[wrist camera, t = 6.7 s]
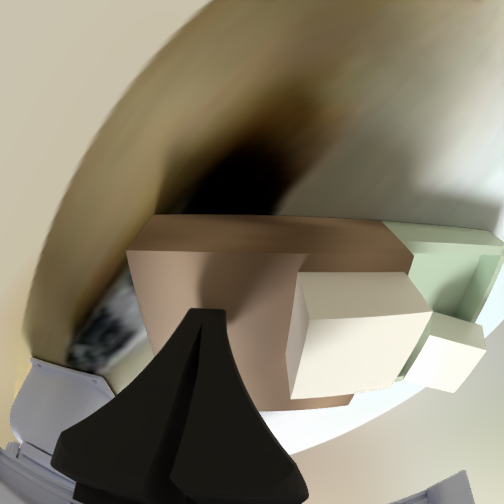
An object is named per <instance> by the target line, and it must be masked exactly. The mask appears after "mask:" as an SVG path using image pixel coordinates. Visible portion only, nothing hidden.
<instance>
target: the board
mask: <svg viewBox="0 0 504 504" xmlns="http://www.w3.org/2000/svg"><path fill="white" fill-rule="evenodd" d="M126 254H127V259H128V263H129V268H130V272H131V276H132V281H133V285H134V289H135V293H136V296H137V300H138V304H139V307H140V311H141V315H142V318H143V321H144V325H145V328H146V331H147V335H148V338H149V341H150V344H151V347H152V350H153V353H154V356H156V355H157V354H158V352H159V351H160V350H161V349H162V347H163V346H164V345H165V343H166V342H167V341H168V339H169V338H170V337H171V335H172V334H173V333H174V331H175V330H176V328H177V327H178V325H179V324H180V322H181V321H182V319H183V318H184V316H185V315H186V313H187V311H188V310H189V309H190V308H207V309H224V310H225V311H226V318H227V334H228V339H229V343H230V346H231V350H232V353H233V357H234V360H235V363H236V365H237V368H238V371H239V373H240V376H241V378H242V380H243V383H244V385H245V387H246V389H247V391H248V393H249V395H250V397H251V399H252V401H253V403H254V405H255V407H256V408H257V410H258V411H289V410H306V409H318V408H328V407H337V406H345V405H348V404H349V403H350V401H351V399H352V398H353V396H354V394H347V395H339V396H329V397H318V398H305V399H290V390H289V381H288V372H287V363H286V355H285V353H286V347H287V341H288V335H289V329H290V323H291V316H292V309H293V303H294V296H295V289H296V281H297V274H298V272H405V273H406V275H407V276H408V274H409V271H410V268H411V265H412V262H413V259H414V255H413V254H412V253H411V251H410V250H409V249H408V248H407V247H406V246H405V245H404V244H403V243H402V242H401V241H400V240H399V239H398V238H397V237H396V235H395V234H394V233H393V232H392V231H391V230H390V229H389V228H388V227H387V226H386V225H385V224H384V223H383V222H382V221H378V220H362V219H345V218H325V217H302V216H272V215H214V214H175V215H153V216H152V218H151V219H150V220H149V221H148V223H147V224H146V225H145V226H144V228H143V229H142V230H141V231H140V233H139V234H138V235H137V236H136V238H135V239H134V240H133V242H132V243H131V244H130V245H129V247H128V248H127V249H126Z"/></svg>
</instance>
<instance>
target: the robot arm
mask: <svg viewBox="0 0 504 504" xmlns="http://www.w3.org/2000/svg"><path fill="white" fill-rule="evenodd" d="M30 363H31V364H32V368H31V370H30V372H29V374H28V376H27V377H26V379H25V381H24V383H23V385H22V387H21V389H20V391H19V393H18V395H17V397H16V399H15V401H14V403H13V405H12V408H11V412H10V425H11V429H12V431H13V433H14V435H15V436H16V438H17V439H18V440H19V441H20V442H21V443H22V445H21V447H20V448H19V446H20V444H19V443H17V442H16V441H14V442H10V443H8V444H7V447H6V449H5V450H3V449H1V448H0V504H301V503H303V502H304V501H305V500H306V499H308V497H309V493H308V489H307V486H306V483H305V481H304V479H303V477H302V475H301V473H300V471H299V469H298V467H297V465H296V463H295V462H294V461H293V460H292V458H291V457H290V456H289V455H288V453H287V452H286V451H285V450H284V448H283V447H282V446H281V445H280V443H279V442H278V441H277V439H276V438H275V436H274V435H273V434H272V432H271V431H270V429H269V428H268V426H267V425H266V423H265V421H264V420H263V418H262V417H261V415H260V413H259V412H258V410H257V408H256V407H255V405H254V403H253V401H252V399H251V397H250V395H249V393H248V391H247V389H246V387H245V385H244V383H243V380H242V378H241V376H240V373H239V371H238V368H237V365H236V363H235V360H234V357H233V353H232V350H231V346H230V343H229V339H228V334H227V318H226V311H225V310H224V309H207V308H190V309H189V310H188V311H187V313H186V315H185V316H184V318H183V319H182V321H181V322H180V324H179V325H178V327H177V328H176V330H175V331H174V333H173V334H172V335H171V337H170V338H169V339H168V341H167V342H166V343H165V345H164V346H163V347H162V349H161V350H160V351H159V352H158V354H157V355H156V356H155V357H154V358H153V360H152V361H151V362H150V363H149V364H148V365H147V367H146V368H145V369H144V370H143V371H142V372H141V373H140V374H139V375H138V376H137V377H136V378H135V379H134V380H133V381H132V382H131V383H130V384H129V385H128V386H127V387H125V388H124V389H123V390H122V391H121V392H120V393H119V394H118V395H116V396H115V395H114V394H113V392H112V391H111V389H110V387H109V386H108V384H107V383H106V381H105V379H104V378H102V377H100V376H97V375H92V374H88V373H84V372H80V371H76V370H72V369H69V368H65V367H61V366H58V365H55V364H51V363H48V362H45V361H42V360H39V359H36V358H32V357H31V358H30ZM389 504H475V503H474V499H473V495H472V492H471V488H470V484H469V481H468V477H467V474H466V471H465V470H462V471H460V472H459V473H457V474H455V475H453V476H451V477H449V478H447V479H445V480H443V481H441V482H439V483H437V484H435V485H433V486H431V487H429V488H427V489H426V490H424V491H421V492H419V493H417V494H414V495H411V496H409V497H406V498H403V499H401V500H398V501H395V502H392V503H389Z"/></svg>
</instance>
